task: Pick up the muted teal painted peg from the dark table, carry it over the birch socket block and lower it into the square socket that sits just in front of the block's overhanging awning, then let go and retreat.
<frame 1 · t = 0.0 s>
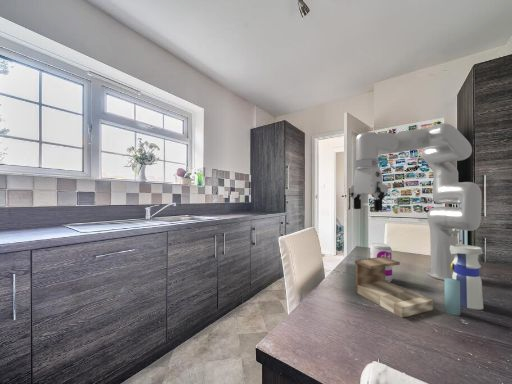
hand: (367, 209, 82), 31 cm above the table, fingers open, 9 cm apart
supplement can: (381, 280, 93), on the table
water bottle: (466, 304, 72), on the table
peg: (452, 312, 67), on the table
socket block: (391, 300, 74), on the table
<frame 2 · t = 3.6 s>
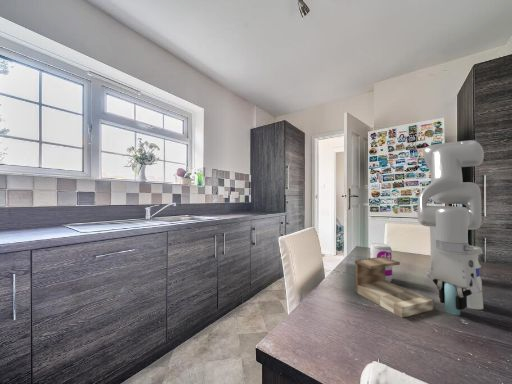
hand: (452, 304, 67), 2 cm above the table, fingers closed on peg, 3 cm apart
peg: (452, 312, 67), on the table, touching gripper
everything else where it was.
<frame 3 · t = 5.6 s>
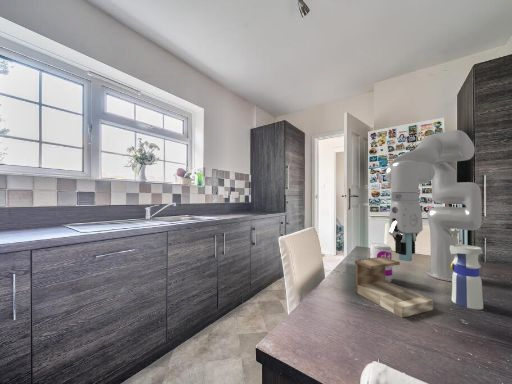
hand: (405, 252, 71), 18 cm above the table, fingers closed on peg, 3 cm apart
peg: (405, 259, 70), point 15 cm above the table, touching gripper
everything else where it was.
when the fingers open (4 cm above the table, at t = 7.8 s): peg drops 1 cm, resting in socket block.
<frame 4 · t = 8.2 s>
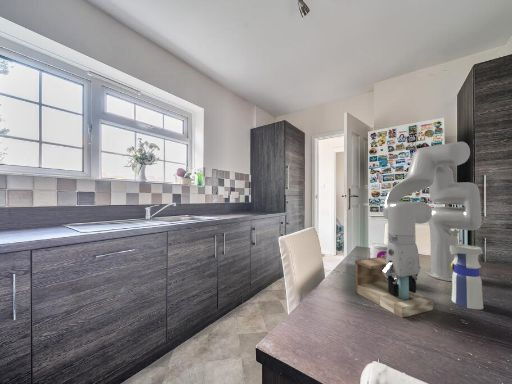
hand: (402, 292, 71), 4 cm above the table, fingers open, 7 cm apart
peg: (402, 305, 71), resting in socket block
everything else where it was.
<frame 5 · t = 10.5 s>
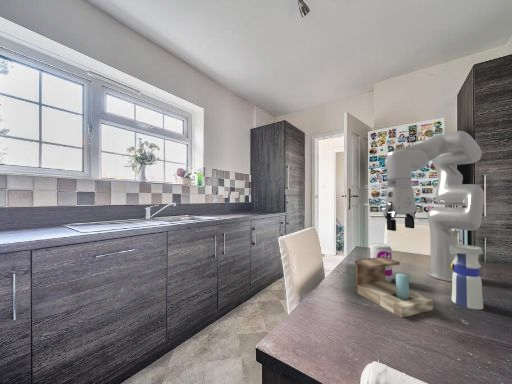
hand: (400, 229, 80), 24 cm above the table, fingers open, 9 cm apart
nothing on the table moved.
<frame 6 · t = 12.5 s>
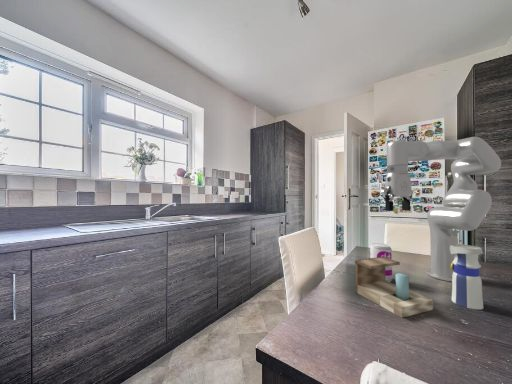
hand: (397, 210, 90), 30 cm above the table, fingers open, 9 cm apart
nothing on the table moved.
at the end: peg 0.1 cm from the target spot in the socket block, point 0.0 cm above the socket block's base; peg tilted 0°; the gripper is holding nothing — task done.
